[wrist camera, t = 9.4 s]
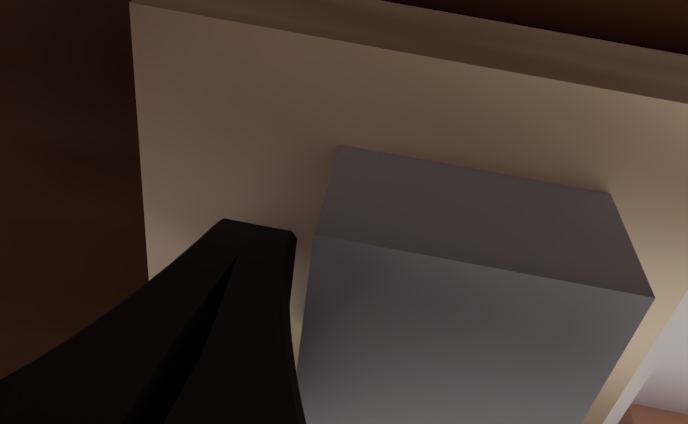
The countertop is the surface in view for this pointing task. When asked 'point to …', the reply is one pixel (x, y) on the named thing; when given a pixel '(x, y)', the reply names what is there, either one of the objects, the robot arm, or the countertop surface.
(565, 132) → the birch board
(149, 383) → the robot arm
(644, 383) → the grey tray
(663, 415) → the terracotta block
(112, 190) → the countertop surface
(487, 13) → the countertop surface
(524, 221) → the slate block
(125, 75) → the countertop surface
